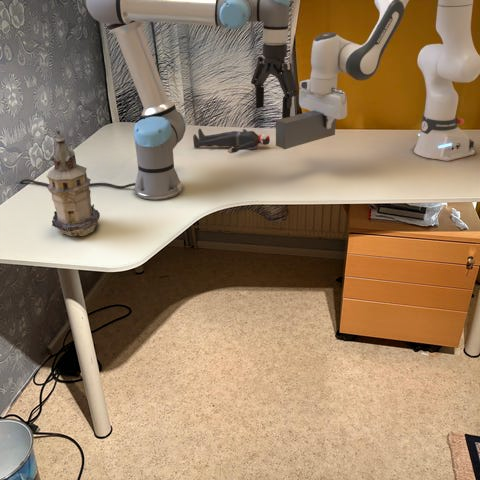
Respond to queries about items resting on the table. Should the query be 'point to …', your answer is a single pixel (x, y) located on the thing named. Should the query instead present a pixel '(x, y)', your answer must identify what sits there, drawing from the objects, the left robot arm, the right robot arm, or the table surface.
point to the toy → (231, 140)
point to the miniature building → (70, 193)
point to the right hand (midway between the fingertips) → (321, 125)
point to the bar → (302, 129)
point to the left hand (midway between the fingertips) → (272, 112)
